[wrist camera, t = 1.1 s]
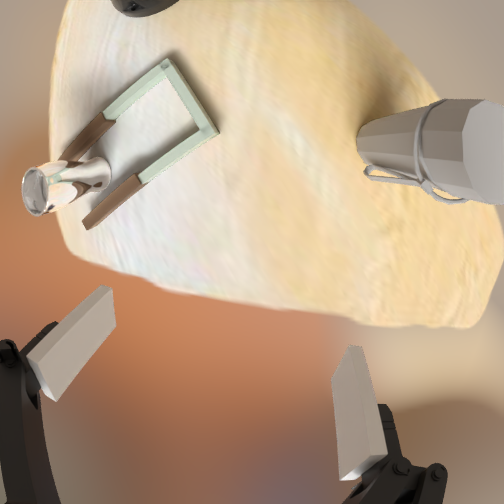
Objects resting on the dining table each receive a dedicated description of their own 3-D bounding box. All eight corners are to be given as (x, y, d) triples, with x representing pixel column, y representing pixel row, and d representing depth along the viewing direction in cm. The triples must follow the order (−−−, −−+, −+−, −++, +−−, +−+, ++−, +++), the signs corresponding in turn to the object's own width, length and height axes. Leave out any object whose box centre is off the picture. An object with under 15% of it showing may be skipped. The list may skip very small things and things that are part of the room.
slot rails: (63, 163, 39) (53, 165, 37) (111, 113, 35) (100, 112, 33) (96, 225, 43) (87, 230, 40) (149, 181, 39) (140, 184, 36)
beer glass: (83, 193, 41) (22, 215, 27) (84, 154, 38) (19, 166, 25) (113, 195, 41) (50, 220, 27) (114, 154, 38) (48, 164, 24)
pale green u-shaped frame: (111, 113, 35) (102, 112, 33) (173, 62, 32) (167, 57, 29) (149, 181, 39) (142, 184, 37) (219, 133, 35) (215, 132, 33)
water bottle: (373, 108, 31) (486, 68, 8) (411, 147, 32) (540, 166, 9) (333, 152, 34) (413, 164, 11) (372, 191, 36) (478, 260, 12)
